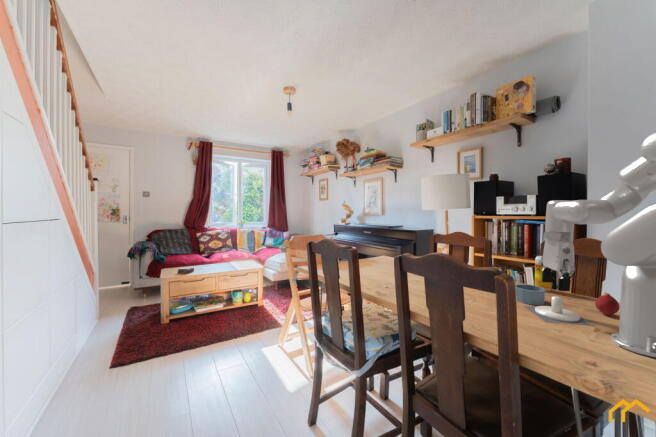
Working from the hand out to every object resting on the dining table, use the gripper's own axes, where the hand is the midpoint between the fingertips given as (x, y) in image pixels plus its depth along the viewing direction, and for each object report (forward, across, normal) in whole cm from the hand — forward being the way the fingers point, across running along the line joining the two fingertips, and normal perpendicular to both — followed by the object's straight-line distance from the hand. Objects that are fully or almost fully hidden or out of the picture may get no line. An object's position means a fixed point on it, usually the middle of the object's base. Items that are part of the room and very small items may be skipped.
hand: (554, 286), depth 96 cm
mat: (+10, -1, -1) cm, 10 cm away
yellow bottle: (+11, +33, -13) cm, 37 cm away
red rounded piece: (+10, +3, -18) cm, 20 cm away
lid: (+10, -1, 0) cm, 10 cm away
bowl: (+10, +14, +1) cm, 17 cm away
